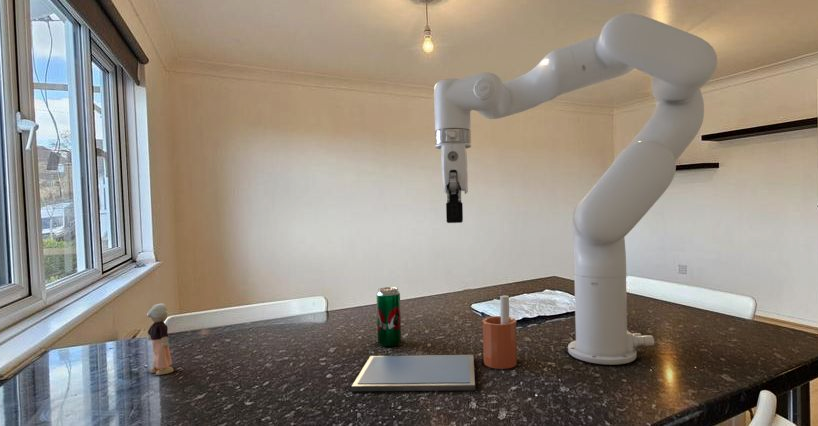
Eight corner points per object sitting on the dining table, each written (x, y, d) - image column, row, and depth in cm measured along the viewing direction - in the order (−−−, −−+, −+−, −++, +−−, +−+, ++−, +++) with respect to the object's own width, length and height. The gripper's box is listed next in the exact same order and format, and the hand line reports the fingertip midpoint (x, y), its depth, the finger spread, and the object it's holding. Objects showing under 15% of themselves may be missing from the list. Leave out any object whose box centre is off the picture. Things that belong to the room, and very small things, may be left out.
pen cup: (514, 356, 83) (513, 315, 83) (519, 368, 77) (518, 324, 77) (483, 357, 84) (482, 316, 83) (484, 369, 77) (483, 325, 77)
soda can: (403, 340, 96) (401, 286, 95) (398, 347, 90) (397, 291, 90) (381, 340, 96) (379, 286, 96) (375, 347, 91) (373, 291, 91)
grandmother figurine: (184, 369, 81) (181, 303, 81) (163, 377, 77) (160, 307, 77) (158, 364, 84) (156, 300, 84) (137, 371, 81) (135, 304, 81)
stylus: (509, 358, 81) (508, 295, 81) (510, 361, 80) (509, 297, 79) (501, 358, 81) (499, 295, 81) (502, 361, 80) (500, 297, 79)
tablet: (473, 359, 83) (473, 354, 83) (475, 390, 69) (475, 384, 69) (370, 360, 83) (370, 355, 83) (351, 391, 69) (351, 385, 69)
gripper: (471, 132, 81) (473, 223, 82) (470, 145, 99) (472, 220, 99) (432, 134, 82) (434, 224, 82) (437, 146, 99) (439, 220, 99)
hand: (455, 221), depth 90 cm, fingers open, 9 cm apart
